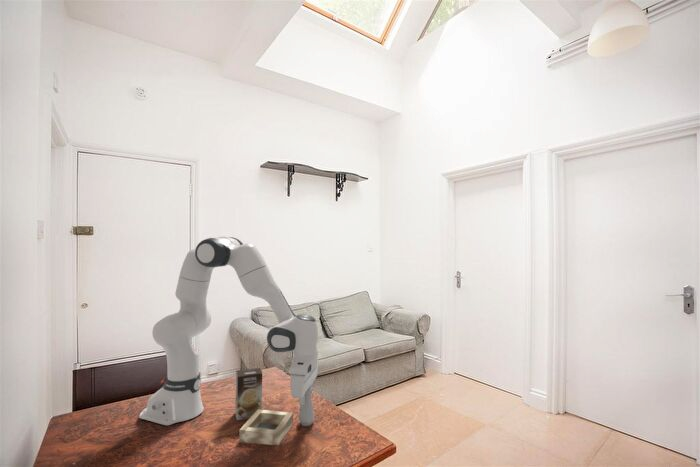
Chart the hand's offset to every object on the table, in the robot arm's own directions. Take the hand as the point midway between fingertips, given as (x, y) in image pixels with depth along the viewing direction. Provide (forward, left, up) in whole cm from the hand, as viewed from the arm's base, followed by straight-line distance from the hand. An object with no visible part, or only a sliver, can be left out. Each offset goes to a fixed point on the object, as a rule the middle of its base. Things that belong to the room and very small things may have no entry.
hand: (305, 399), depth 124 cm
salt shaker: (0, 0, -9) cm, 9 cm away
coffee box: (-23, +2, -9) cm, 25 cm away
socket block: (-11, -8, -9) cm, 16 cm away
